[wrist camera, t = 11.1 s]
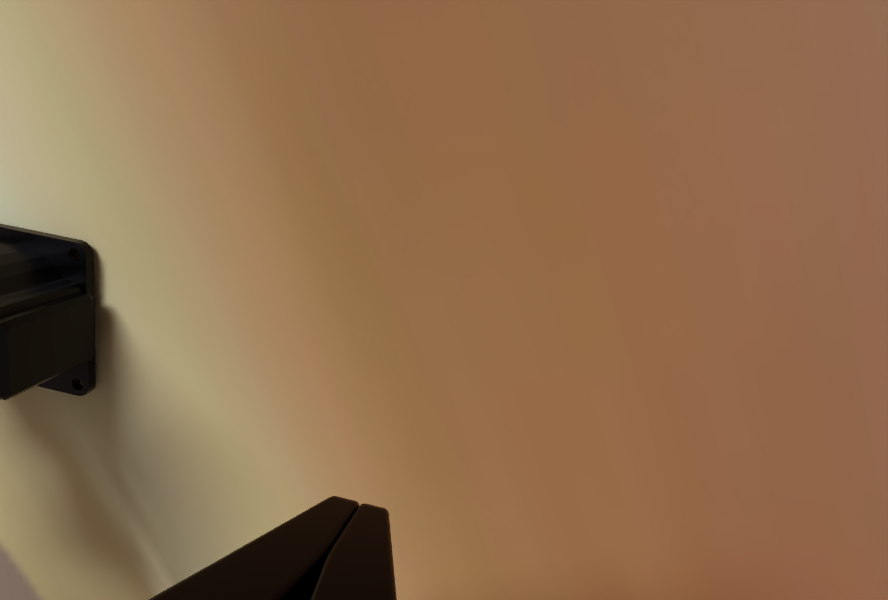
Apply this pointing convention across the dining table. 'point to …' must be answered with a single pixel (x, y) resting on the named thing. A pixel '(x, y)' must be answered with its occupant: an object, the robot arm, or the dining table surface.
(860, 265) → the dining table surface
